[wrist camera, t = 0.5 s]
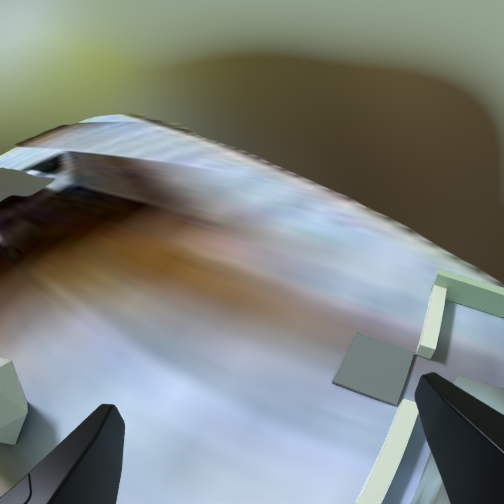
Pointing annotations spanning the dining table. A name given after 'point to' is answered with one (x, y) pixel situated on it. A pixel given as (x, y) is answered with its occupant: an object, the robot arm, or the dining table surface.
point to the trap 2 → (374, 369)
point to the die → (11, 403)
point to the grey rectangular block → (431, 485)
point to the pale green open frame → (443, 288)
